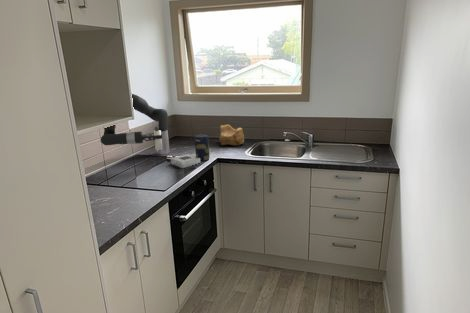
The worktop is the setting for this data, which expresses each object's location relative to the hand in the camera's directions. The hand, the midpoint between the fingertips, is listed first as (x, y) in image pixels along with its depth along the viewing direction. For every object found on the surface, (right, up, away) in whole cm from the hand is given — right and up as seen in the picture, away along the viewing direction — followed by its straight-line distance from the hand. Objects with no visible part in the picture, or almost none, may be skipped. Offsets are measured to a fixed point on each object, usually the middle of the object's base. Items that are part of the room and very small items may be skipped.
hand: (161, 135), depth 214 cm
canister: (+25, -16, +16) cm, 33 cm away
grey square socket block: (+14, -18, +7) cm, 24 cm away
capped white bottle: (-2, -8, +2) cm, 9 cm away
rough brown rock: (+42, -4, +57) cm, 71 cm away
